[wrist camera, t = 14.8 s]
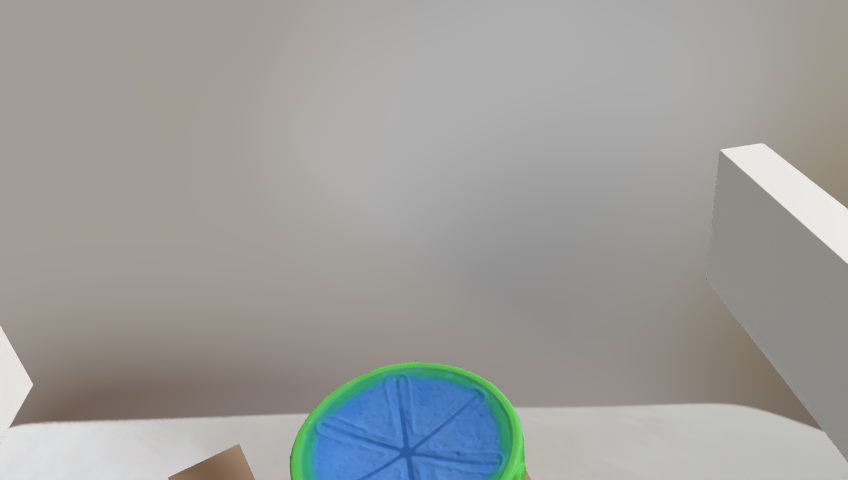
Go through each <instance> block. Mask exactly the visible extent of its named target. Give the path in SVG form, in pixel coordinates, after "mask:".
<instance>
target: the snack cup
mask: <svg viewBox="0 0 848 480" xmlns="http://www.w3.org/2000/svg"><path fill="white" fill-rule="evenodd" d="M524 458H525V456H524V439H523V434H522V429H521V424H520V421H519V418H518V416H517V414H516V411H515V410H514V408H513V407H512V405H511V404H510V402H509V401H508V399H507V398H506V397H505V396H504V395H503V394H502V393H501V391H499V390H498V389H497V388H496V387H495V386H494V385H492V384H491V383H490V382H488V381H487V380H485V379H483V378H481V377H480V376H478V375H475V374H473V373H471V372H469V371H466V370H463V369H460V368H456V367H452V366H447V365H443V364H433V363H418V362H416V361H414V362H407V363H400V364H394V365H389V366H385V367H381V368H377V369H375V370H373V371H372V372H370V373H368V374H365V375H362V376H360V377H358V378H356V379H353V380H352V381H350V382H348V383H346V384H345V385H343V386H341V387H340V388H338V389H337V390H335V391H334V392H333V393H331V394H330V395H328V397H326V398H325V399H324V400H323V401H321V403H320V404H319V405H318V406H317V407H316V408H315V409H314V410H313V412H311V414H310V415H309V416H308V418H307V419H306V420H305V422H304V424H303V425H302V427H301V428H300V430H299V432H298V435H297V437H296V439H295V442H294V445H293V448H292V452H291V456H290V475H291V480H524V477H525V474H526V465H525V464H524Z"/></svg>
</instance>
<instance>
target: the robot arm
mask: <svg viewBox="0 0 848 480" xmlns="http://www.w3.org/2000/svg"><path fill="white" fill-rule="evenodd" d="M706 280H707V281H708V282H709V284H710V285H711V286H712V288H713V289H714V290H715V291H716V293H717V294H718V295H719V297H720V298H721V299H722V300H723V302H724V303H725V304H726V306H727V307H728V308H729V309H730V311H731V312H732V313H733V315H734V316H735V317H736V318H737V320H738V321H739V322H740V324H741V325H742V326H743V327H744V329H745V330H746V331H747V333H748V334H749V335H750V337H751V338H752V339H753V340H754V342H755V343H756V344H757V345H758V347H759V348H760V349H761V351H762V352H763V353H764V355H765V356H766V357H767V358H768V360H769V361H770V362H771V364H772V365H773V366H774V367H775V369H776V370H777V371H778V373H779V374H780V375H781V376H782V378H783V379H784V380H785V382H786V383H787V384H788V385H789V387H790V388H791V389H792V391H793V392H794V393H795V395H796V396H797V397H798V398H799V399H800V401H801V402H802V403H803V405H804V406H805V407H806V409H807V410H808V411H809V412H810V414H811V415H812V416H813V418H814V419H815V420H816V422H817V423H818V424H819V425H820V427H821V428H822V429H823V431H824V432H825V433H826V434H827V436H828V437H829V438H830V440H831V441H832V442H833V443H834V445H835V446H836V447H837V449H838V450H839V451H840V452H841V454H842V455H843V456H844V458H845V459H846V460H847V462H848V209H847V208H845V207H844V206H843V205H841V204H840V203H839V202H838V201H836V200H835V199H834V198H833V197H831V196H830V195H829V194H827V193H826V192H825V191H824V190H822V189H821V188H820V187H819V186H817V185H816V184H815V183H813V182H812V181H811V180H810V179H808V178H807V177H806V176H804V175H803V174H802V173H801V172H799V171H798V170H797V169H795V168H794V167H793V166H792V165H790V164H789V163H788V162H786V161H785V160H784V159H783V158H781V157H780V156H779V155H778V154H776V153H775V152H774V151H772V150H771V149H770V148H769V147H767V146H766V145H765V144H763V143H762V144H755V145H748V146H742V147H735V148H729V149H722V150H720V153H719V162H718V172H717V181H716V191H715V200H714V210H713V220H712V229H711V239H710V248H709V258H708V267H707V276H706ZM32 386H33V384H32V382H31V380H30V378H29V376H28V375H27V373H26V371H25V369H24V368H23V366H22V364H21V362H20V360H19V359H18V357H17V355H16V353H15V351H14V350H13V348H12V346H11V344H10V343H9V341H8V339H7V337H6V336H5V334H4V332H3V330H2V328H1V327H0V443H1V441H2V439H3V437H4V435H5V434H6V432H7V430H8V428H9V427H10V425H11V423H12V421H13V419H14V418H15V416H16V414H17V412H18V410H19V409H20V407H21V405H22V403H23V401H24V400H25V398H26V396H27V394H28V393H29V391H30V389H31V387H32Z"/></svg>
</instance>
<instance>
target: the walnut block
mask: <svg viewBox="0 0 848 480" xmlns="http://www.w3.org/2000/svg"><path fill="white" fill-rule="evenodd" d="M168 479H169V480H255V479H254V477H253V474H252V472H251V470H250V468H249V465H248V463H247V461H246V459H245V456H244V454H243V452H242V450H241V447H240V445H239V444H238V445H236V446H234V447H232V448H230V449H228V450H225V451H223V452H221V453H219V454H217V455H215V456H213V457H211V458H209V459H206V460H204V461H202V462H200V463H198V464H196V465H194V466H192V467H189V468H187V469H185V470H183V471H181V472H179V473H177V474H175V475H173V476H170V477H168Z"/></svg>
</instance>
